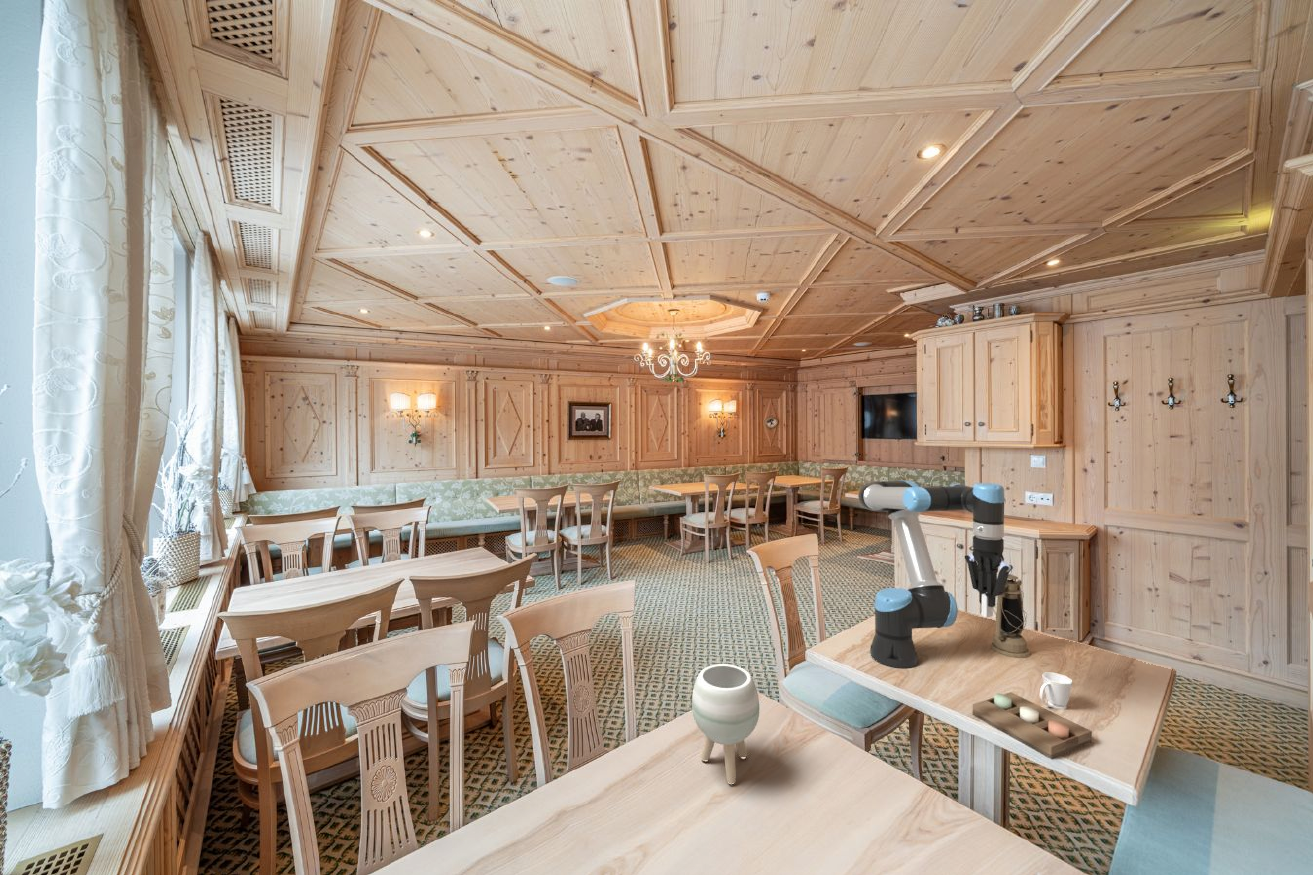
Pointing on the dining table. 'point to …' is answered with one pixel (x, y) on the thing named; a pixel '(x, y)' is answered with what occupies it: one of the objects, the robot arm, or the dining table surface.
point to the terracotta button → (1058, 729)
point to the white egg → (1029, 715)
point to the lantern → (1010, 622)
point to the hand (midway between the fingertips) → (987, 615)
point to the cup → (1056, 689)
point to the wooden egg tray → (1032, 726)
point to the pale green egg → (1002, 701)
